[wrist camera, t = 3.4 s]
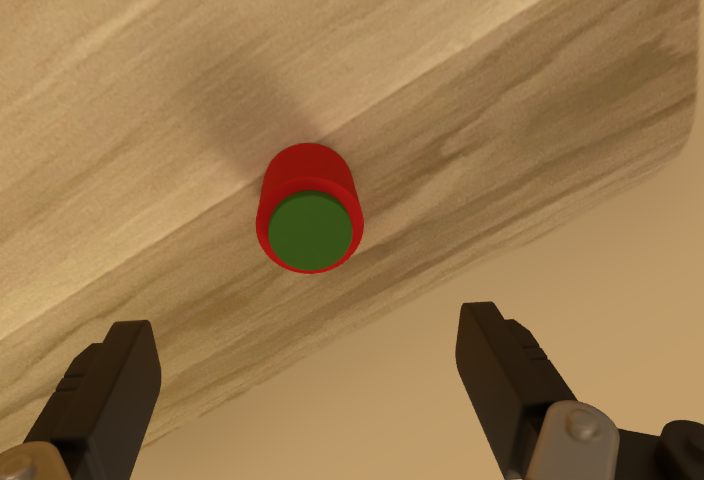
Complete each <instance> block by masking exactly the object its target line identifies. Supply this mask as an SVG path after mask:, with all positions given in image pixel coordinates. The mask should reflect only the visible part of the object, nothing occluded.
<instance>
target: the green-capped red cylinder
mask: <svg viewBox="0 0 704 480" xmlns="http://www.w3.org/2000/svg"><path fill="white" fill-rule="evenodd" d="M363 228H364V221H363V215H362V211H361V207H360V203H359V200H358V196H357V193H356V189H355V186H354V182H353V179H352V175H351V172H350V170H349V168H348V166H347V164H346V162H345V161H344V160H343V159H342V158H341V156H340V155H338V154H337V153H336V152H335V151H333V150H331V149H330V148H327V147H325V146H322V145H319V144H313V143H303V144H297V145H293V146H291V147H288V148H286V149H284V150H283V151H281V152H280V153H279V154H278V155H277V156H275V157H274V159H273V160H272V161H271V163H270V164H269V166H268V168H267V170H266V173H265V176H264V181H263V186H262V191H261V197H260V202H259V207H258V212H257V217H256V233H257V237H258V240H259V243H260V245H261V247H262V249H263V250H264V252H265V253H266V254H267V255H268V256H269V258H270V259H272V260H273V261H274V262H275V263H277V264H278V265H280V266H281V267H283V268H285V269H288V270H290V271H293V272H298V273H304V274H314V273H321V272H326V271H329V270H332V269H334V268H336V267H338V266H339V265H341V264H343V263H344V262H345V261H346V260H348V259H349V258H350V257H351V255H352V254H353V253H354V252H355V250H356V249H357V247H358V245H359V244H360V241H361V238H362V235H363Z"/></svg>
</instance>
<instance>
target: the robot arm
mask: <svg viewBox="0 0 704 480" xmlns="http://www.w3.org/2000/svg"><path fill="white" fill-rule="evenodd" d="M455 353H456V354H455V355H456V364H457V368H458V372H459V374H460V377H461V379H462V381H463V384H464V386H465V388H466V391H467V393H468V395H469V398H470V400H471V402H472V405H473V407H474V409H475V412H476V414H477V416H478V419H479V421H480V423H481V426H482V428H483V430H484V433H485V435H486V437H487V440H488V442H489V444H490V447H491V449H492V451H493V454H494V456H495V458H496V460H497V463H498V465H499V468H500V470H501V472H502V475H503V477H504V479H505V480H514V479H522V480H704V425H703V424H700V423H697V422H693V421H687V420H676V421H672V422H669V423H667V424H666V425H665V426H664V428H663V430H662V433H661V435H660V436H655V435H649V434H643V433H638V432H632V431H627V430H623V429H618V428H617V427H616V426H615V424H614V423H613V422H612V420H611V419H610V418H609V417H608V416H607V415H606V414H604V413H603V412H602V411H600V410H599V409H597V408H595V407H593V406H591V405H588V404H586V403H583V402H579V401H578V400H577V399H576V397H575V396H574V394H573V393H572V391H571V390H570V389H569V387H568V386H567V384H566V383H565V382H564V380H563V378H562V377H561V376H560V374H559V373H558V371H557V370H556V368H555V367H554V365H553V364H552V363H551V361H550V360H548V359H547V355H546V354H545V353H544V351H543V350H542V348H540V347H539V344H538V342H537V341H536V339H535V338H534V337H533V335H532V334H531V332H530V331H529V330H527V329H526V328H525V327H523V326H522V325H521V324H519V323H518V322H517V321H515V320H514V319H509V320H504V318H503V316H502V315H501V313H500V312H499V310H498V309H497V307H496V306H495V304H494V303H493V302H473V303H463V305H462V307H461V311H460V319H459V327H458V335H457V343H456V352H455ZM160 387H161V367H160V362H159V358H158V353H157V349H156V345H155V340H154V336H153V331H152V327H151V324H150V322H149V321H148V320H136V321H118V322H115V323H113V325H112V326H111V328H110V330H109V332H108V334H107V335H106V337H105V339H104V341H103V343H92V344H91V345H90V346H88V347H87V348H86V349H85V350H84V351H82V352H81V353H80V354H79V355H78V356H76V357H75V358H74V360H73V361H72V363H71V364H70V366H69V368H68V369H67V371H66V373H65V374H64V378H62V379H61V381H60V383H59V384H58V386H57V387H56V392H53V394H52V396H51V397H50V399H49V401H48V402H47V404H46V406H45V407H44V409H43V410H42V412H41V414H40V415H39V417H38V419H37V420H36V422H35V424H34V425H33V427H32V428H31V430H30V432H29V433H28V435H27V437H26V438H25V440H24V442H23V443H22V444H20V445H17V446H14V447H12V448H10V449H8V450H6V451H4V452H2V453H1V454H0V480H129V479H130V477H131V474H132V470H133V468H134V465H135V462H136V459H137V456H138V453H139V450H140V448H141V445H142V442H143V439H144V436H145V433H146V430H147V427H148V424H149V421H150V418H151V416H152V413H153V410H154V407H155V404H156V401H157V398H158V395H159V392H160Z"/></svg>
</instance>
